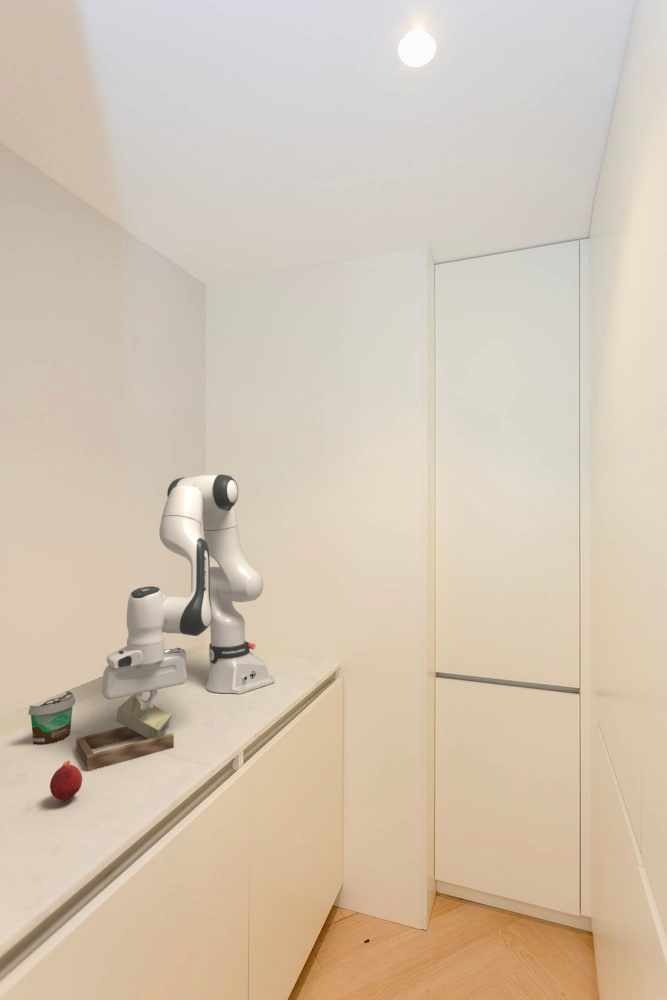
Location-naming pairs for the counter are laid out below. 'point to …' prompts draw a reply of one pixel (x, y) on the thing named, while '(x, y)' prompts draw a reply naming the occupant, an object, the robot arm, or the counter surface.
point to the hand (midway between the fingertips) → (145, 708)
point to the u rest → (118, 753)
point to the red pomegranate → (66, 782)
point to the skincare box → (143, 718)
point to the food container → (52, 719)
